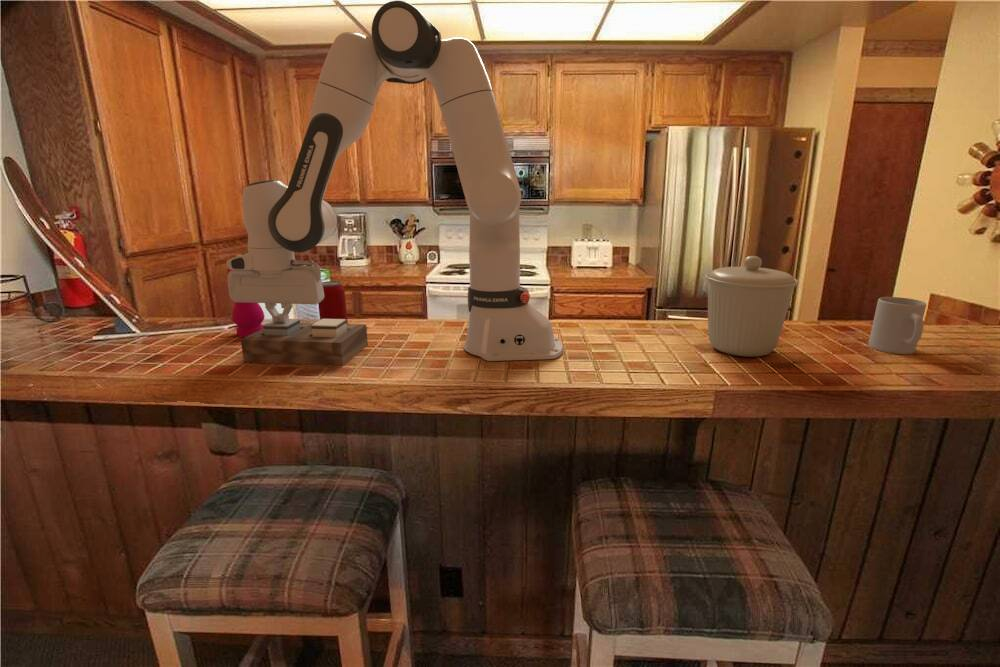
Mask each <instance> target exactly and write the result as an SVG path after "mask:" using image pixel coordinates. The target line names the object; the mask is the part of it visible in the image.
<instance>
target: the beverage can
mask: <svg viewBox="0 0 1000 667" xmlns="http://www.w3.org/2000/svg"><path fill="white" fill-rule="evenodd" d="M322 285H323V290H324V299H323V300H322V301H321V302H320V303H318V304H317V306H318V313H319V321H320V320H321V319H346V321H347V323H346V324H349V323H348V312H347V302H346V293H345V287H344V286H343V284H342V282H341V281H337V280H335V281H334V280H331V281H330V280H328V281H322Z"/></svg>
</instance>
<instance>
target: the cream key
mask: <svg viewBox="0 0 1000 667" xmlns="http://www.w3.org/2000/svg"><path fill="white" fill-rule="evenodd" d="M347 322H348V320H347V321H346V319H321V320H320V319H319V320H318V321H316V322H313V323H314V324H313V325H311V329H312V334H313V337H337V338H339V337H340V336H342V335H343V334H345V333H346V332H347V324H346V323H347Z"/></svg>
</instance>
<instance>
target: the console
mask: <svg viewBox="0 0 1000 667" xmlns="http://www.w3.org/2000/svg"><path fill="white" fill-rule="evenodd" d="M314 323H315V322H300V329H301V330H299V331H298V332H296V333H294V334H292V335H291V336H272V335H265V334H264V329H261V330H259V331H257V332H255V333H253V334H251V335H249V336H247V337H242V338H241V339H240V344H241V345H240V346H241V350H242V351H241V352H242V358H243V363H256V362H268V363H267V364H283V363H285V365H289V364H290V365H309V366H310V365H312V366H313V365H315V366H337V367H338V366H339V367H340V366H342V367H343V366H344V365H346V364H347V363H348V362H349V361H350V360H352V359H354V358H355V357H356V356H357V355H358V354H359V353H360V352H361V351H363V350H364V349H365V348H366V347H368V346H369V344H368V330H367V324H359V323H355V324H354V323H348V324H347V332H346V333H345V334H343V335H342V336H340V337H339V338H337V337H313V334H312V329H311V325H313V324H314ZM363 348H364V349H363ZM362 349H363V350H362Z"/></svg>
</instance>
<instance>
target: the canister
mask: <svg viewBox="0 0 1000 667" xmlns="http://www.w3.org/2000/svg"><path fill="white" fill-rule="evenodd" d="M762 263H763V261H762V258H761V257H759V256H756V255H749V256H747V257H745V258H744V260H743V266H725V267H717V268H715V269H713V270H712V271H711V272H708V273H705V276H704V278H705V279H706V280H707V326H708V329H707V330H708V339H709V342H710V345H711V346H712V347H713V348H714V349H716V350H717V351H719V352H722V353H723V354H727V355H731V356H735V357H737V356H738V357H744V358H745V357H748V358H750V357H751V358H755V357H756V358H757V357H764V356H766V355H769V354H770V353H772V352H773V351H774V350H775V348H776V347H777V344H778V342H779V339H780V336H781V333H782V330H783V327H784V324H785V321H786V318H787V314H788V310H789V307H790V304H791V301H792V296H793V292H794V289H795V287H796V286H798V285H799V283H800V281H799V280H798V279H797V278H795V277H794V276H793V275H791V273H788V272H785V271H782V270H777V269H771V268H767V267H761V266H762V265H763V264H762Z"/></svg>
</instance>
